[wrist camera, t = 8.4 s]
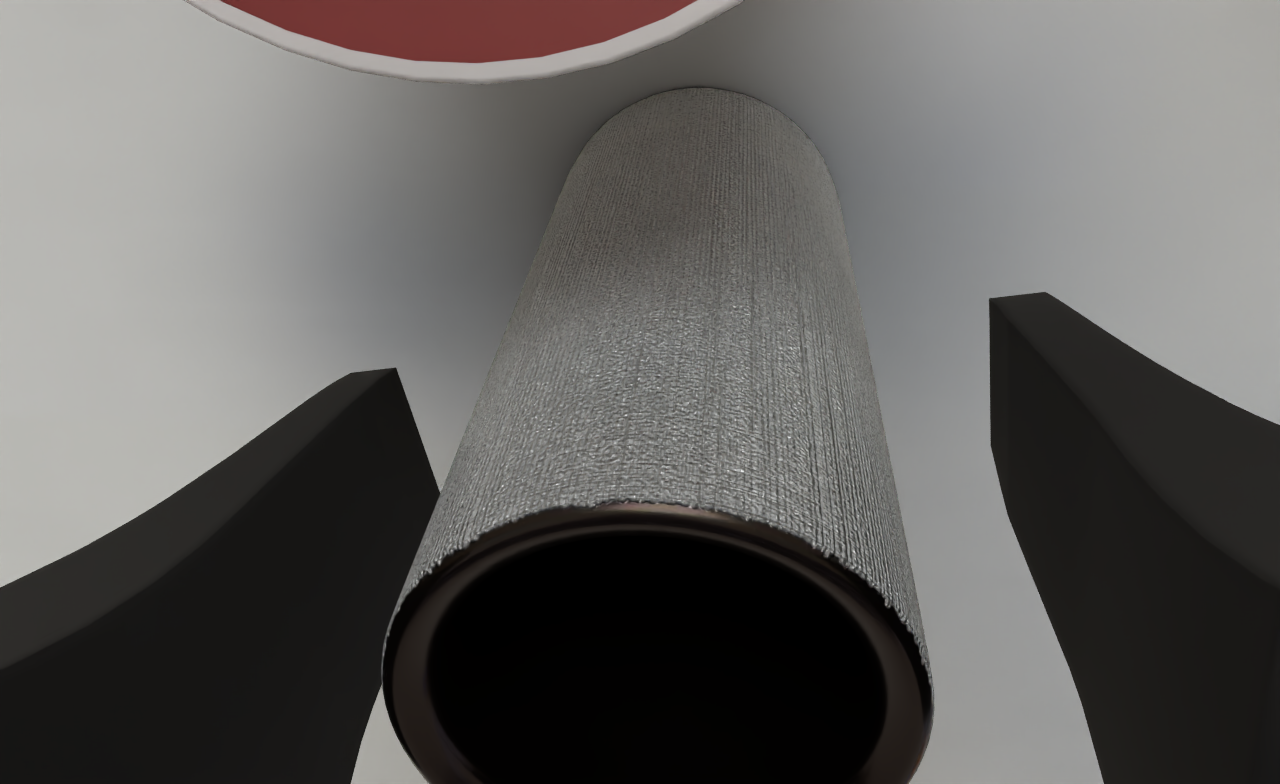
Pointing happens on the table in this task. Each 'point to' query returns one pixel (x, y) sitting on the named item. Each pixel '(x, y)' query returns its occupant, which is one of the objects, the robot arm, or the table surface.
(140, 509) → the table surface
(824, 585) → the planter
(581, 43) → the tall can
